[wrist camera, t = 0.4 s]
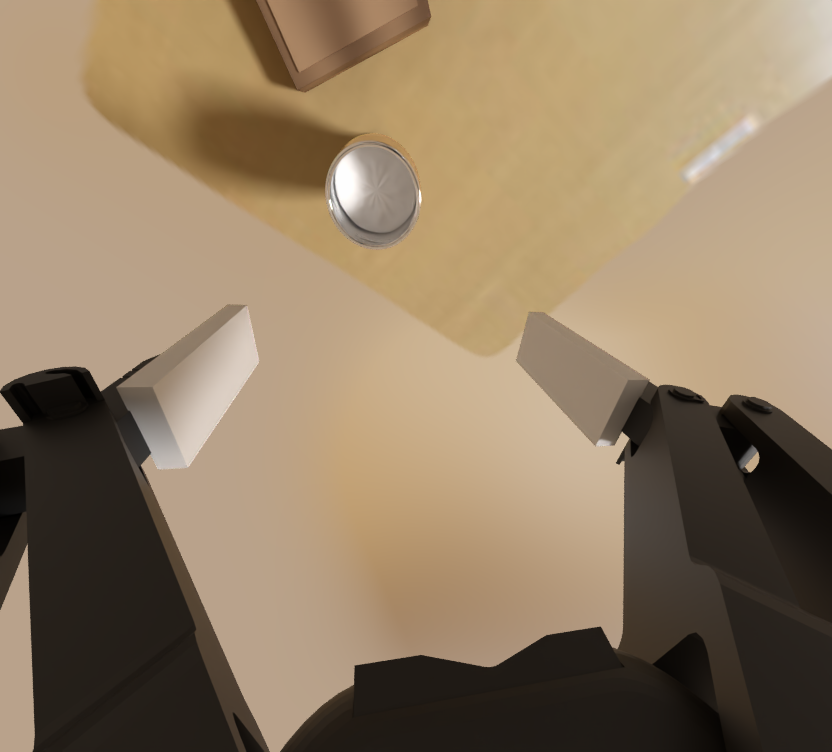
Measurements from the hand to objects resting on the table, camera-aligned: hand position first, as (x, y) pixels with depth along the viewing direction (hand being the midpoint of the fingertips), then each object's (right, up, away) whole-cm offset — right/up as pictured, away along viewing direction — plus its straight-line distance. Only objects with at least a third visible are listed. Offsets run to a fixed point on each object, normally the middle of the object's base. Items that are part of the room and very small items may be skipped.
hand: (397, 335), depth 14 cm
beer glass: (-3, +20, +18) cm, 27 cm away
